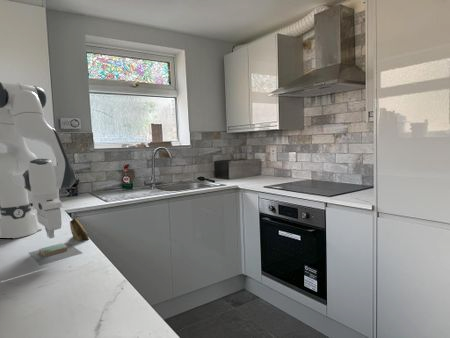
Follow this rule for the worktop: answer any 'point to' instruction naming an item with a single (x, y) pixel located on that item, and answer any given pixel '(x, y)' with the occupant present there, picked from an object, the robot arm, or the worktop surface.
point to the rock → (78, 230)
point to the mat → (55, 255)
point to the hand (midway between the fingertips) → (50, 237)
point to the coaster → (52, 250)
